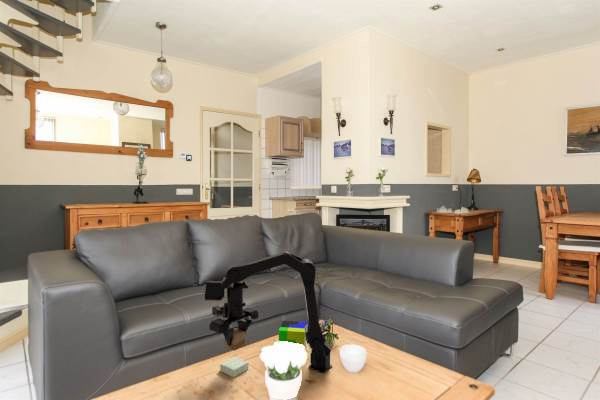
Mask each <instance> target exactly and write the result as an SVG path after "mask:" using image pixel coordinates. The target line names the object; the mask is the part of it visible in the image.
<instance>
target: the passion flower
mask: <svg viewBox="0 0 600 400" xmlns="http://www.w3.org/2000/svg"><path fill="white" fill-rule="evenodd" d="M318 319H319V322H320V321H321V319H320V318H318ZM319 325H320V328H321V331H322V334H323V337H324V338H325V339H326V340H327V342H328V344H329V345H331V344H332V343H333V342H334V343H335V340H339V339H340V338H339V336H338V335H339V334H338V333H334V329H333V328H334V322H333V320H331V318H329V319H326V320H323V321H321V323H319Z"/></svg>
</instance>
